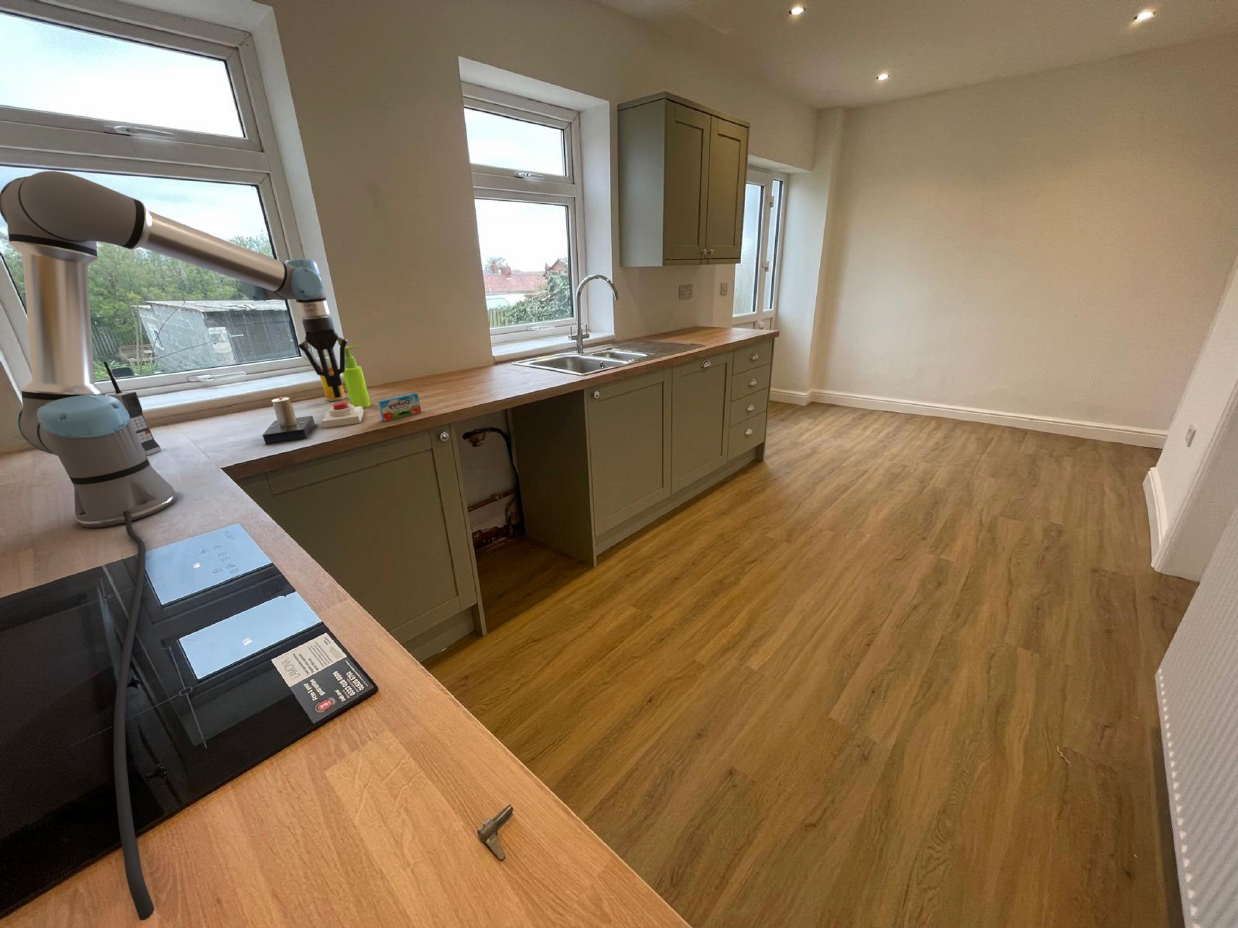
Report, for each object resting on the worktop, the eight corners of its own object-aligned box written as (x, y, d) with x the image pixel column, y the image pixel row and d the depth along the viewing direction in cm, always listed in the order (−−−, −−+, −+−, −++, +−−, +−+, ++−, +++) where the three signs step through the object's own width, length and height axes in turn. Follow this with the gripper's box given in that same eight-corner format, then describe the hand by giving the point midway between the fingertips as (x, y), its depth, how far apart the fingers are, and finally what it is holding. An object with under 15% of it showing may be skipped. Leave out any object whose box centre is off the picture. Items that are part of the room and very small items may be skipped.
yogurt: (384, 421, 153) (379, 402, 151) (382, 420, 154) (377, 401, 151) (421, 412, 161) (417, 393, 158) (419, 411, 162) (415, 392, 159)
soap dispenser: (377, 404, 172) (362, 345, 164) (358, 409, 166) (342, 349, 159) (367, 402, 175) (352, 344, 167) (348, 407, 169) (332, 348, 162)
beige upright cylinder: (295, 425, 143) (287, 399, 140) (278, 428, 142) (269, 401, 139) (298, 421, 147) (290, 395, 144) (281, 423, 146) (273, 397, 142)
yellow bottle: (340, 401, 178) (328, 359, 172) (323, 402, 178) (311, 359, 172) (348, 396, 183) (337, 355, 177) (332, 397, 183) (321, 356, 177)
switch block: (360, 423, 153) (356, 410, 151) (323, 428, 150) (319, 415, 148) (363, 412, 163) (360, 400, 162) (329, 417, 160) (326, 405, 158)
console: (306, 439, 141) (303, 428, 140) (265, 445, 138) (262, 434, 137) (315, 424, 153) (312, 415, 152) (277, 430, 150) (274, 420, 149)
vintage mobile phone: (147, 455, 134) (105, 363, 124) (133, 455, 135) (90, 363, 125) (162, 450, 138) (122, 359, 128) (147, 449, 139) (106, 359, 129)
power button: (347, 409, 154) (346, 404, 153) (333, 411, 153) (331, 406, 152) (349, 406, 157) (347, 401, 157) (335, 408, 156) (333, 402, 155)
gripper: (287, 320, 139) (312, 402, 148) (339, 316, 143) (360, 396, 152) (293, 317, 145) (316, 396, 155) (342, 313, 149) (362, 390, 159)
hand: (338, 396), depth 153 cm, fingers closed
